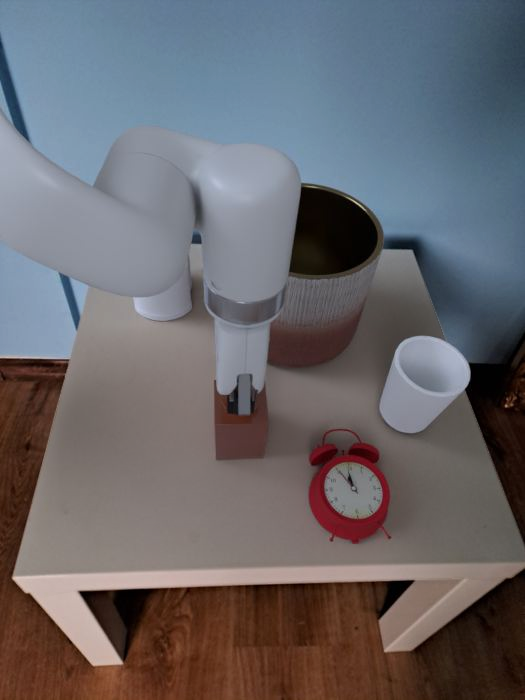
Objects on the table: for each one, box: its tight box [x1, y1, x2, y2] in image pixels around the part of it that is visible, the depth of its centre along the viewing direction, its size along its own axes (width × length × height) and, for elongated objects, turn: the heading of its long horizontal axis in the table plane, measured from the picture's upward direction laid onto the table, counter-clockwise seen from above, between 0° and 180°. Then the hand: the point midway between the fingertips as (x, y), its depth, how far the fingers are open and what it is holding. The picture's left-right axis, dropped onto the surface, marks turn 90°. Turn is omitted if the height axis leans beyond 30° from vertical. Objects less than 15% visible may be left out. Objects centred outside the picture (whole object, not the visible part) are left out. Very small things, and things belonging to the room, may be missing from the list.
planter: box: [267, 182, 385, 369], centre depth 72 cm, size 22×22×20 cm
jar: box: [132, 255, 193, 322], centre depth 75 cm, size 12×10×15 cm
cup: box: [378, 335, 471, 435], centre depth 64 cm, size 10×10×13 cm
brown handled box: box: [213, 379, 269, 461], centre depth 60 cm, size 7×9×16 cm
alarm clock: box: [308, 428, 392, 545], centre depth 60 cm, size 10×6×15 cm
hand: (239, 393), depth 56 cm, fingers open, 4 cm apart
